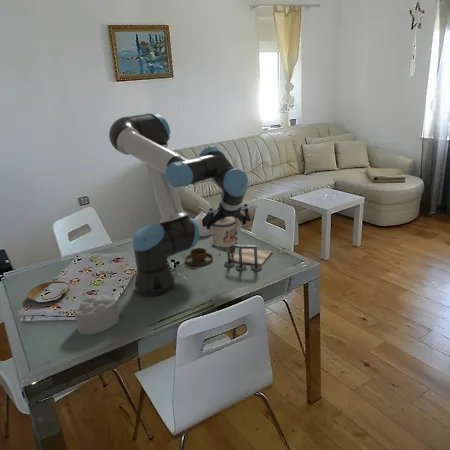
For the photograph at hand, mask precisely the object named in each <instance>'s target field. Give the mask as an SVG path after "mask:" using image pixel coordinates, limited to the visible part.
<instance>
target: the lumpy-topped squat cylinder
mask: <svg viewBox="0 0 450 450" xmlns="http://www.w3.org/2000/svg"><path fill="white" fill-rule="evenodd" d="M74 317H75V321H76V327H77V331H78V334H81V335H93V334H98V333H102V332H104V331H106V330H108V329H110V328H112V327H114V326H115V325H117V324H118V323H119V322H120V315H119V309H118V305H117V300H116V299H114V298H111V297H110V296H109V295H107V294H98V295H95V296H87V297H86V298H85V299H84V300H83V301H82V302H80V304H78V305H77V306H76V308H75V309H74Z"/></svg>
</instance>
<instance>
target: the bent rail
mask: <svg viewBox="0 0 450 450" xmlns="http://www.w3.org/2000/svg"><path fill="white" fill-rule="evenodd" d="M232 247H235V248H236V249H238V252H239V263H238V265H236V263H235V262H233V261H231V258H232V257H231V253H230V246H229V247H226V254H227V261H225V262H224V263H223V265H224V267H226V268H231V267H234V266H235V265H236V266H235V269H236V271H239V272H240V271H242V270H243V271H246V270H247V269H246V268H247V264H242V249H254V261H255V265H250V270H251V271H253V272H259V270H260V271H261V270H262V269H263V267H262V266H260V265H258V261H257V249H258V246H256V245H249V244H248V245H247V244H245V245H242V244H237V243H236V244H234V245H232ZM245 269H246V270H245ZM243 271H242V272H243Z"/></svg>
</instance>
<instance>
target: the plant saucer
mask: <svg viewBox="0 0 450 450" xmlns="http://www.w3.org/2000/svg"><path fill="white" fill-rule="evenodd" d="M52 283H65V284H67V285H68V288H67V290H66V291H65V292H66V293H67V291H68V289H69V287H70V286H69V284H68V282H65V281H61V280H60V281H59V280H58V281H57V280H56V281H54V280H53V281H48V282H45V283H40V284H38V285H36V286H34V287H32V288H31V289H30V290H29V291H28V292H27V295H26V296H27V298H28V299H29V300H31V301H33V302H35V301H34V300H35V299H34V298H35V297H37V296H38V294H40V292H42V291H43V290H44V289H45V288H46V287H48V286H49V285H50V284H52ZM65 292H63V293H62V294H64V293H65ZM66 293H65V294H66ZM62 294H60V295H62ZM65 294H64V295H65ZM60 295H58V296H60ZM58 296H56V297H58ZM56 297H53V298H56ZM53 298H49V299H53ZM43 300H48V299H43Z"/></svg>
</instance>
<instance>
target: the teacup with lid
mask: <svg viewBox="0 0 450 450" xmlns="http://www.w3.org/2000/svg"><path fill="white" fill-rule="evenodd" d="M237 223H238V221H236V218H235V217H233V216H232V217H225V218H224V219H222V220H219V221H217V222H216V223H215V224H213V225H212V226H213V228H212V230H213V234H212V239H213V240H212V242H213V243H212V244H213V245H214V246H216V247H217V248H227V247H229V246H232V245H234V244H235V243H236V242H237V240H236V237H237V235H236V231H238V227H237ZM236 244H237V243H236Z"/></svg>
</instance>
